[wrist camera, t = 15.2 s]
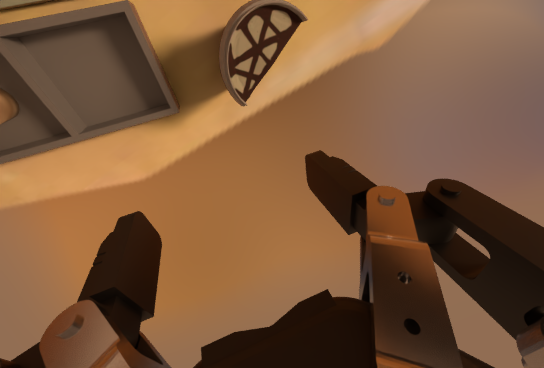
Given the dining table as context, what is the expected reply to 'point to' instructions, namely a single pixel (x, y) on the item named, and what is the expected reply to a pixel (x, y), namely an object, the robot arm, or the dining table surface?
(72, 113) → the organiser tray
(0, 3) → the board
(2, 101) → the tan oval stone
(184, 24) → the dining table surface
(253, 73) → the food container
